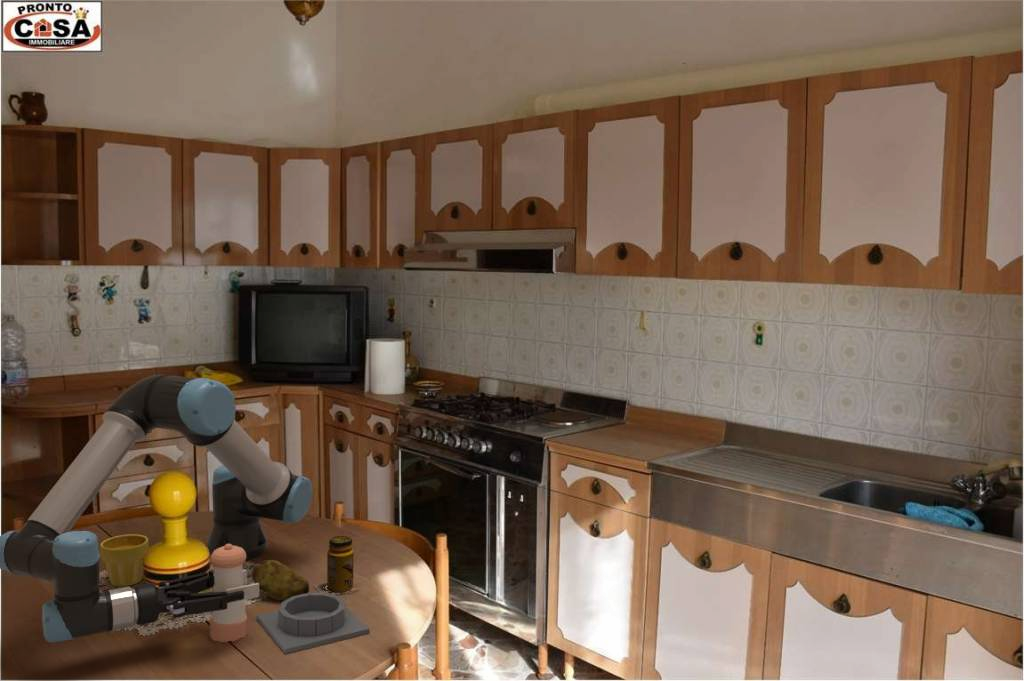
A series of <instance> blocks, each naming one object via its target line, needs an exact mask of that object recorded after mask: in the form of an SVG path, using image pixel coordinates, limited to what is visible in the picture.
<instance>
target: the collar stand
mask: <svg viewBox="0 0 1024 681" xmlns="http://www.w3.org/2000/svg"><path fill="white" fill-rule="evenodd" d="M256 620H257V621H259V622H258V623H259V624H260V626H262V627H263V629H264V630H265V632H267V633H268V635H269V636H270V637H271V639H272V640H273V641H274V643H275V644H276V645H277V646H278V647H279V648H280V650H281V651H282V653H283V654H284V655H287V654H291V653H295V652H300V651H304V650H308V649H310V648H311V649H312V648H316V647H320V646H323V645H327V644H331V643H335V642H336V643H337V642H339V641H344V640H347V639H352V638H356V637H360V636H365V635H368V634H370V628H369V627H368V626H367V625H366V624H365V623H364V622H363V621H362V620H361V619H359V618H358V617H357V616H356V615H355V614H354V613H353V612H352V611H351V610H350V609H349V608H348V607H347V606H346V601H345V600H344V599H343V598H341V597H340V596H338V595H332V594H328V593H320V592H308V593H306V594H301V595H297V596H294V597H291V598H289V599H287V600H285V601H281V603H280V605H279V608H278V610H274V611H273V610H272V611H269V612H263V613H258V614H256Z"/></svg>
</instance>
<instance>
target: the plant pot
mask: <svg viewBox="0 0 1024 681" xmlns="http://www.w3.org/2000/svg"><path fill="white" fill-rule="evenodd" d="M99 545H100V546H99V548H100V549H99V552H100V559H101V560H102V561H103V562H104V564H105V568H106V571H107V575H108V579H109V583H110V584H111V585H112V586H114V587H119V588H124V587H131V586H134V585H136V584H138V583H140V582H141V580H142V578H143V571H144V568H143V558H144V556H145V554H146V552H147V551H148V550H150V548H149V547H150V543H149V538H148V537H147V535H142V534H135V533H134V534H133V533H131V534H123V535H116V536H112V537H109V538H107V539H105V540H103V541H102V542H101V543H100V544H99Z"/></svg>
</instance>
